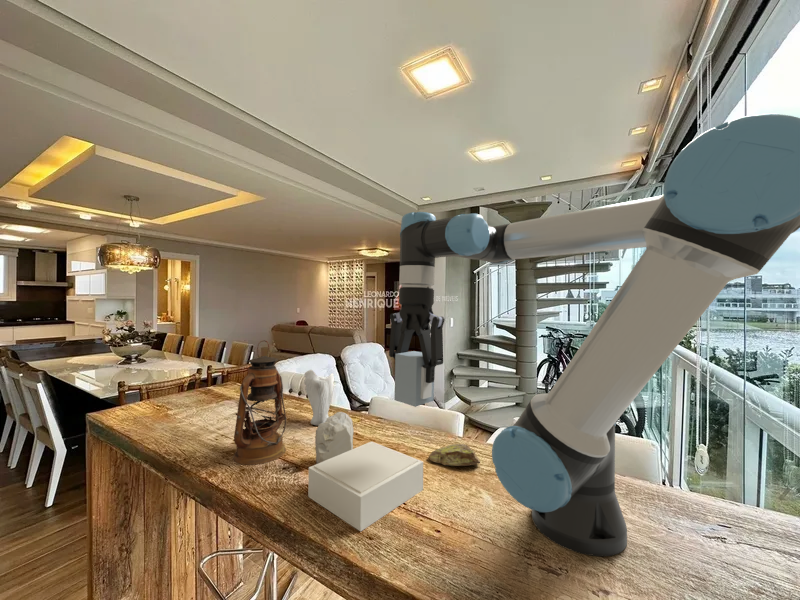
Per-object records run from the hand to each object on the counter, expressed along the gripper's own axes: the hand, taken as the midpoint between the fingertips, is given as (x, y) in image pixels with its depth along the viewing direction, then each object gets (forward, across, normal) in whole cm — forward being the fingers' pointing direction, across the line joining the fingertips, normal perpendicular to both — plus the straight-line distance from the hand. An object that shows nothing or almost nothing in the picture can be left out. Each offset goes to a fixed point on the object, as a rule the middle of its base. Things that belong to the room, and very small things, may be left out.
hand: (413, 393), depth 73 cm
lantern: (+22, +40, +15) cm, 48 cm away
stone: (+21, +23, +4) cm, 31 cm away
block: (+1, 0, 0) cm, 1 cm away
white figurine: (+22, +48, -8) cm, 54 cm away
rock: (+21, +1, -18) cm, 28 cm away
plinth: (+21, +6, +8) cm, 23 cm away
